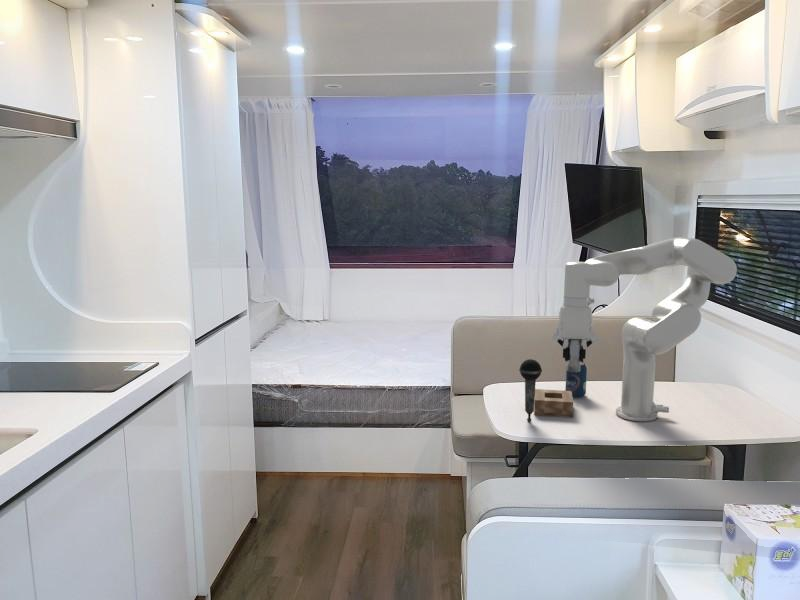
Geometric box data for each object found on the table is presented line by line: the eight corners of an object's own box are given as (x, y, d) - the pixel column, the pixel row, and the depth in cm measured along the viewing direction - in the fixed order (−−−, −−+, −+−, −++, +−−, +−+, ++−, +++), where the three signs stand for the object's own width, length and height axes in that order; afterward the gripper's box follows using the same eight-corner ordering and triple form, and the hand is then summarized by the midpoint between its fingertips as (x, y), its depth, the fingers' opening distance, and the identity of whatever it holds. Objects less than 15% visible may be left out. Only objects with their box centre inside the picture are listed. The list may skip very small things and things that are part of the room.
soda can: (561, 396, 223) (562, 363, 221) (570, 391, 228) (571, 359, 227) (580, 400, 219) (581, 366, 217) (588, 395, 224) (590, 362, 222)
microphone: (540, 418, 201) (542, 357, 198) (540, 426, 194) (542, 363, 191) (518, 417, 202) (519, 356, 199) (517, 424, 196) (519, 361, 192)
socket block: (570, 405, 213) (571, 391, 213) (572, 417, 202) (573, 402, 201) (534, 403, 216) (534, 389, 215) (534, 414, 204) (534, 400, 204)
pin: (579, 369, 199) (580, 337, 197) (580, 372, 195) (582, 340, 193) (566, 368, 200) (567, 337, 198) (567, 371, 196) (568, 340, 194)
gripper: (603, 301, 196) (600, 358, 199) (547, 299, 199) (545, 356, 202) (606, 305, 189) (603, 364, 192) (548, 303, 192) (546, 362, 195)
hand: (573, 360), depth 197 cm, fingers closed on pin, 4 cm apart
